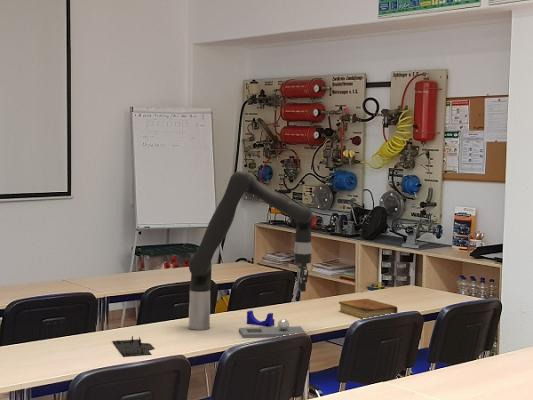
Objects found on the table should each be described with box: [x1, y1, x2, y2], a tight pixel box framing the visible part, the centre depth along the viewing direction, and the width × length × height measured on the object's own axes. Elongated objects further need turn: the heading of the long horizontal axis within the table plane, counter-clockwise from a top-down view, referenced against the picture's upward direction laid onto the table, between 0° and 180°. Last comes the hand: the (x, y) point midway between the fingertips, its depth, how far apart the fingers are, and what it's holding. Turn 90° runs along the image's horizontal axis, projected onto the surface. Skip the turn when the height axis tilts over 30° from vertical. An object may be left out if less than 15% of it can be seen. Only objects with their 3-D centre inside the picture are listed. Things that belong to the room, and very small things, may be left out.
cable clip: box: [246, 310, 275, 327], centre depth 385 cm, size 12×4×6 cm, turn 63°
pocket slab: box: [238, 325, 307, 339], centre depth 367 cm, size 28×13×2 cm, turn 99°
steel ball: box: [277, 318, 290, 330], centre depth 368 cm, size 5×5×5 cm
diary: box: [338, 298, 398, 320], centre depth 411 cm, size 23×19×6 cm
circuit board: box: [111, 335, 155, 358], centre depth 339 cm, size 25×14×3 cm, turn 21°
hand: (302, 290), depth 368 cm, fingers open, 3 cm apart
